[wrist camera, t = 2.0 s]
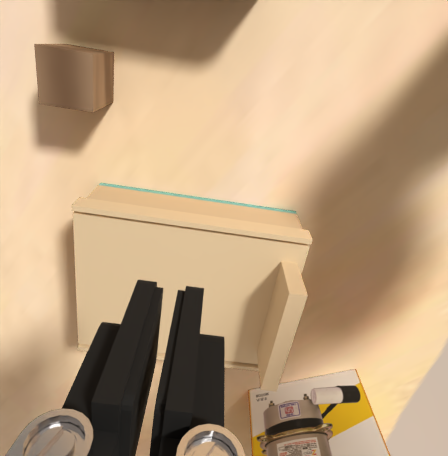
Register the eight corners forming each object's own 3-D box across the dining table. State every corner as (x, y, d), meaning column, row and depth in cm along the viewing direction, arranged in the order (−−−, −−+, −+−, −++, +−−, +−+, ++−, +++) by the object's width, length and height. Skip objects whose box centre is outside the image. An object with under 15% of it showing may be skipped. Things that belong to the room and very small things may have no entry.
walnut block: (114, 52, 34) (92, 54, 28) (113, 102, 36) (93, 112, 30) (65, 43, 33) (34, 44, 28) (67, 94, 35) (39, 103, 30)
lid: (308, 229, 35) (325, 268, 29) (269, 359, 43) (277, 410, 37) (79, 197, 34) (47, 230, 28) (84, 337, 42) (59, 387, 36)
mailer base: (295, 211, 41) (307, 241, 35) (266, 318, 48) (272, 359, 42) (100, 182, 39) (76, 208, 33) (100, 297, 47) (81, 336, 40)
